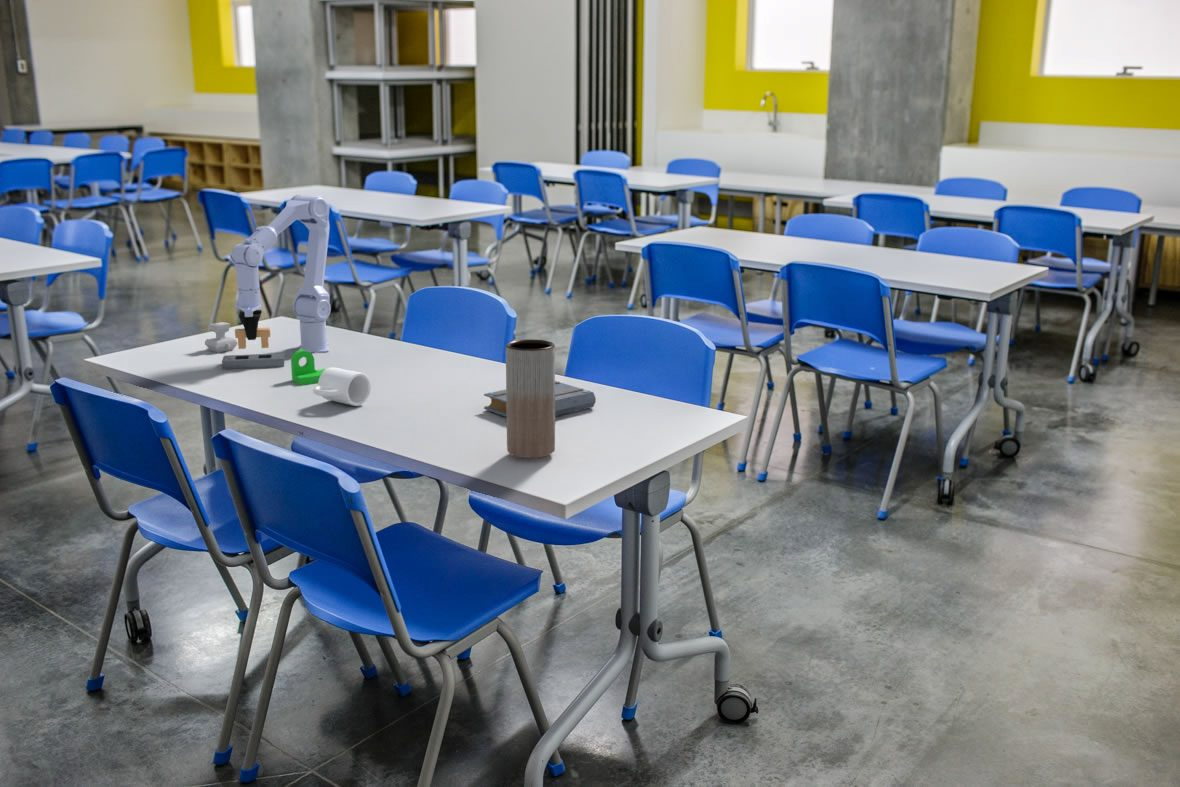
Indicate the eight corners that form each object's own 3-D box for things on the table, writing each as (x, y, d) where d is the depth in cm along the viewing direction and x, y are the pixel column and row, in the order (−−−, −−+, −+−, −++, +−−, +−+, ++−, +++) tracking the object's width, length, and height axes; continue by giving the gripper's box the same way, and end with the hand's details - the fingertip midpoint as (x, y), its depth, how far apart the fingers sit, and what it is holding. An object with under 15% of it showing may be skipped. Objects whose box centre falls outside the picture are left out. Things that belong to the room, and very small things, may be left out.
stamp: (203, 351, 320) (200, 323, 318) (223, 348, 325) (221, 319, 323) (219, 356, 314) (217, 327, 312) (240, 352, 319) (238, 324, 317)
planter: (516, 441, 237) (515, 337, 231) (561, 446, 234) (561, 341, 229) (499, 455, 228) (498, 347, 222) (545, 460, 225) (545, 351, 219)
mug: (343, 395, 273) (341, 364, 271) (371, 402, 268) (370, 370, 266) (305, 406, 264) (303, 373, 262) (334, 412, 258) (332, 379, 256)
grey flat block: (224, 364, 304) (223, 355, 304) (284, 361, 308) (284, 353, 307) (222, 370, 298) (221, 361, 297) (284, 367, 301) (283, 358, 301)
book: (526, 425, 251) (526, 404, 250) (483, 410, 263) (482, 390, 262) (595, 409, 264) (595, 389, 263) (551, 395, 276) (551, 376, 275)
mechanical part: (300, 385, 283) (298, 355, 281) (292, 380, 288) (290, 350, 286) (344, 379, 290) (343, 349, 288) (336, 374, 295) (334, 345, 293)
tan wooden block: (236, 346, 302) (235, 328, 301) (271, 345, 304) (270, 327, 303) (236, 348, 299) (234, 330, 298) (270, 347, 301) (269, 329, 300)
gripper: (234, 285, 303) (238, 333, 307) (231, 293, 290) (234, 344, 293) (261, 284, 305) (264, 332, 308) (259, 292, 291) (262, 343, 295)
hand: (252, 338), depth 301 cm, fingers closed on tan wooden block, 3 cm apart
